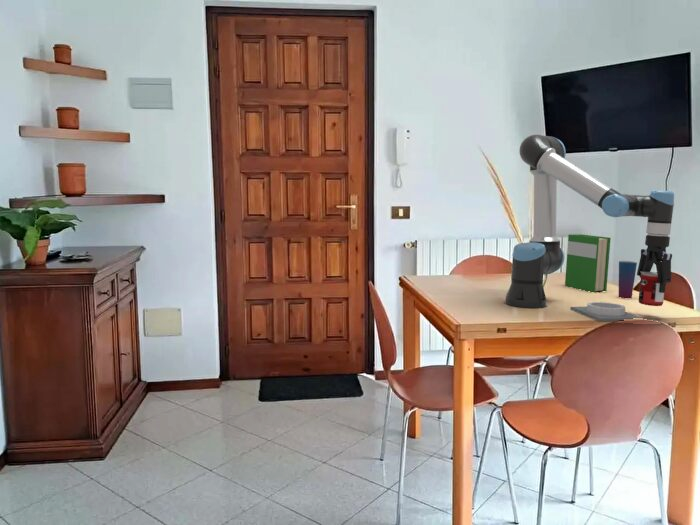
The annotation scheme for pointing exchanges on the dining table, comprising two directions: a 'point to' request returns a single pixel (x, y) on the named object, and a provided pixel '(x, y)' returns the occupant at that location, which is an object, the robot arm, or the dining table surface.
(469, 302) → the dining table surface
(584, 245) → the hardback book
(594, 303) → the holder
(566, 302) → the dining table surface
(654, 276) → the canned food
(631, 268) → the cup
